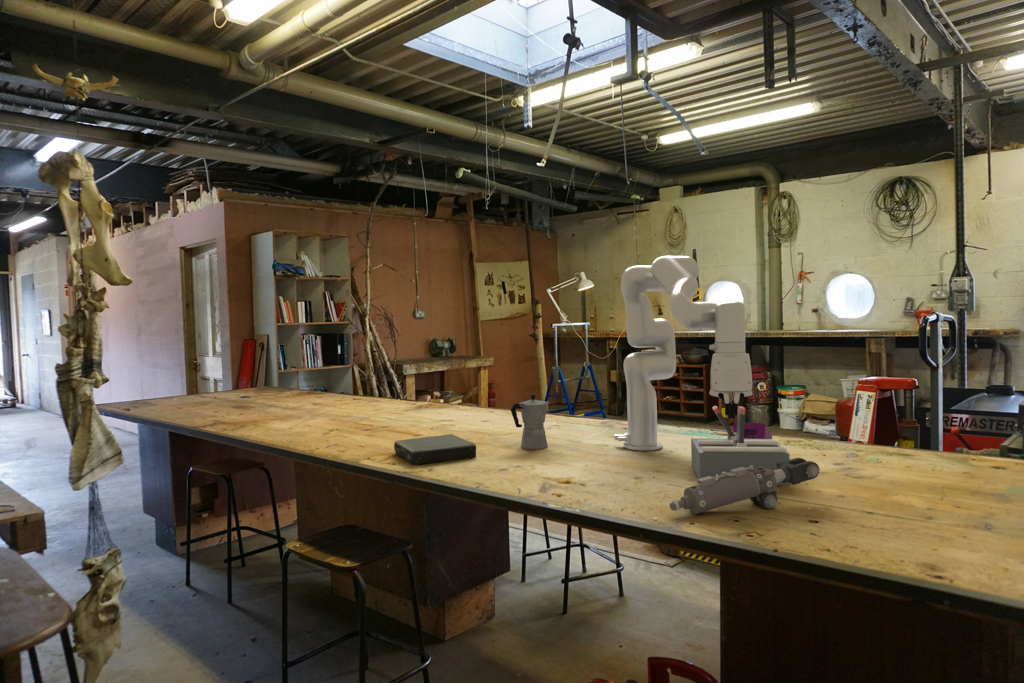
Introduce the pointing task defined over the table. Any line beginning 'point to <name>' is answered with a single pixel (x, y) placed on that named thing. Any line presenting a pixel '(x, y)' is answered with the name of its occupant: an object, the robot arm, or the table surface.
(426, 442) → the network switch
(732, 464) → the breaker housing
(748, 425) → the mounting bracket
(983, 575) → the table surface
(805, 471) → the hydraulic cylinder
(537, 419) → the coffeepot
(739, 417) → the lever
